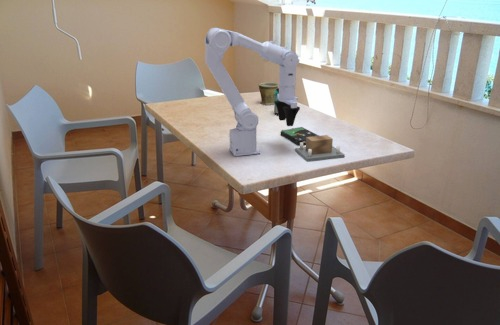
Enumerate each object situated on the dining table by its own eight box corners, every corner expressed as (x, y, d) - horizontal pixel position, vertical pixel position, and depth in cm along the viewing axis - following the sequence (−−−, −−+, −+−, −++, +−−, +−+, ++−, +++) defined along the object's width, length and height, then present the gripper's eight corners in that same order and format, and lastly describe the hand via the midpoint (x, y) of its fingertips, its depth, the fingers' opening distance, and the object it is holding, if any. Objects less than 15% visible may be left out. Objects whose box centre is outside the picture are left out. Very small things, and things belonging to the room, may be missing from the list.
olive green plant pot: (278, 106, 211) (278, 86, 207) (258, 106, 211) (258, 86, 207) (277, 100, 223) (277, 81, 219) (258, 100, 223) (258, 81, 219)
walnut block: (310, 154, 143) (311, 141, 141) (305, 150, 147) (306, 137, 145) (331, 152, 145) (332, 138, 143) (325, 148, 149) (326, 135, 147)
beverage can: (289, 112, 199) (289, 87, 195) (289, 116, 193) (289, 90, 188) (274, 112, 200) (275, 87, 195) (273, 116, 193) (274, 90, 189)
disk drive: (322, 143, 159) (301, 132, 171) (322, 136, 157) (301, 126, 170) (299, 147, 154) (279, 136, 167) (299, 140, 153) (279, 129, 166)
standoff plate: (307, 161, 140) (307, 151, 138) (294, 150, 150) (295, 141, 148) (344, 157, 143) (345, 147, 142) (330, 147, 153) (330, 138, 152)
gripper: (306, 88, 139) (304, 127, 144) (290, 81, 152) (289, 116, 157) (286, 90, 137) (285, 129, 142) (272, 82, 150) (271, 118, 155)
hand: (286, 122), depth 150 cm, fingers open, 7 cm apart
